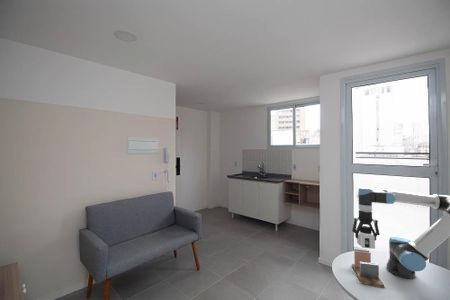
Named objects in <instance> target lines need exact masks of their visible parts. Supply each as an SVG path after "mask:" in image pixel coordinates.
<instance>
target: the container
mask: <svg viewBox="0 0 450 300" xmlns="http://www.w3.org/2000/svg"><path fill="white" fill-rule="evenodd" d="M359 234H360V244H358V245H359V246H360V247H361V249H369V250H373V249H376V240H375V237H374V236H372V234H373V233H372V231H371V228H370V227H369V225H363V226H362V227H361V229H360V231H359Z"/></svg>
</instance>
